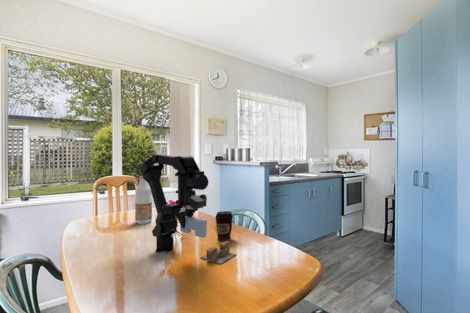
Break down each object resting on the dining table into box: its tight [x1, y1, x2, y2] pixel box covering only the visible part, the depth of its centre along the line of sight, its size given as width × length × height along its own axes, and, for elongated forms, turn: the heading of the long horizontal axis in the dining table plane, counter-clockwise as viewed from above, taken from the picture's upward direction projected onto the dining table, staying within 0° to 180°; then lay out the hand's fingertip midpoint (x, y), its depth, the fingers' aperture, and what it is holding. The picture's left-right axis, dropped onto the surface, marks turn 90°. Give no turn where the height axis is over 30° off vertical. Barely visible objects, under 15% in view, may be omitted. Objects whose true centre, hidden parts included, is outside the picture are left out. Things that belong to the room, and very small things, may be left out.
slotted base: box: [200, 241, 237, 265], centre depth 97 cm, size 12×10×4 cm
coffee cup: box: [215, 210, 234, 242], centre depth 118 cm, size 9×8×13 cm
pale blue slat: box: [179, 215, 208, 239], centre depth 94 cm, size 12×2×6 cm, turn 55°
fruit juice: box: [134, 175, 153, 225], centre depth 149 cm, size 9×9×28 cm
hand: (185, 227), depth 96 cm, fingers closed on pale blue slat, 2 cm apart
